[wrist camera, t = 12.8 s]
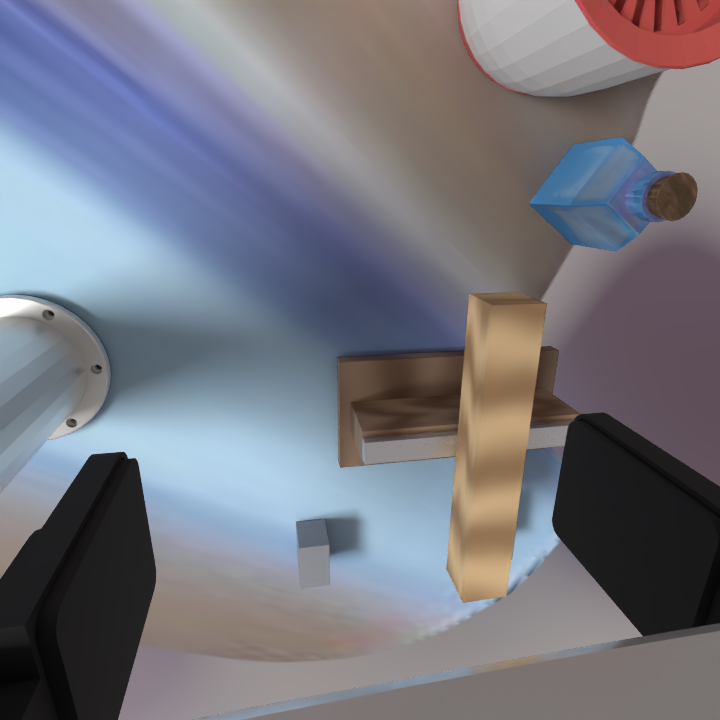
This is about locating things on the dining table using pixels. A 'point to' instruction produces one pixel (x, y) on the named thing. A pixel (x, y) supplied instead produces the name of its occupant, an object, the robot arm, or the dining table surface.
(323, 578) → the pair of grey cubes
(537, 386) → the stand
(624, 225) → the perfume bottle
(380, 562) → the dining table surface
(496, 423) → the oak batten
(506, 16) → the citrus juicer
